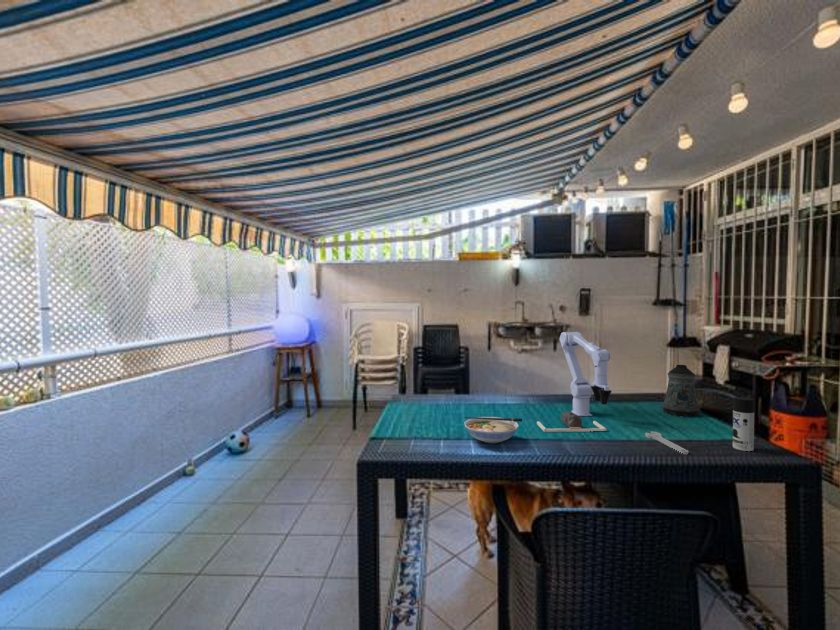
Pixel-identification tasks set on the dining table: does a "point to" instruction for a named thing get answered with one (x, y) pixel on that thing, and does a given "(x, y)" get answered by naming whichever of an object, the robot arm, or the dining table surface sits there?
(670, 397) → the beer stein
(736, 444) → the spray can
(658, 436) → the adjustable wrench
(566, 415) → the perforated stone tool
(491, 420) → the ramen bowl
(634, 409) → the dining table surface
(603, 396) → the robot arm
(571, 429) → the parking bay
